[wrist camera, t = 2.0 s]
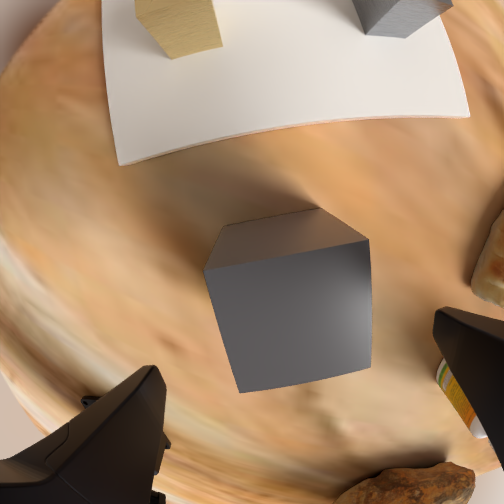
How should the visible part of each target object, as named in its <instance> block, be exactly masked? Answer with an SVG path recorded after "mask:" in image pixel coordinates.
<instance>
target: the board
mask: <svg viewBox="0 0 504 504" xmlns="http://www.w3.org/2000/svg"><path fill="white" fill-rule="evenodd" d="M213 4H214V8H215V12H216V16H217V21H218V25H219V30H220V34H221V39H222V43H223V47H220V48H215V49H210V50H206V51H202V52H198V53H194V54H190V55H186V56H183V57H179V58H176V59H173V60H171V58H170V57H169V56H168V55H167V53H166V52H165V51H164V50H163V49H162V47H161V46H160V45H159V44H158V43H157V41H156V40H155V39H154V38H153V37H152V35H151V34H150V33H149V32H148V31H147V29H146V28H145V27H144V26H143V25H142V24H141V22H140V21H139V20H138V19H137V18H136V14H135V1H134V0H102V38H103V55H104V67H105V78H106V87H107V96H108V104H109V111H110V118H111V124H112V131H113V137H114V142H115V148H116V153H117V158H118V163H119V166H128V165H131V164H134V163H138V162H141V161H144V160H147V159H151V158H154V157H157V156H161V155H164V154H168V153H172V152H175V151H179V150H183V149H187V148H190V147H194V146H198V145H203V144H207V143H211V142H215V141H220V140H224V139H229V138H234V137H239V136H244V135H249V134H254V133H260V132H265V131H271V130H277V129H284V128H290V127H297V126H304V125H312V124H321V123H330V122H340V121H351V120H364V119H382V118H467V117H470V112H469V107H468V103H467V98H466V94H465V90H464V86H463V82H462V79H461V75H460V72H459V68H458V65H457V62H456V58H455V55H454V52H453V49H452V47H451V44H450V41H449V38H448V36H447V33H446V30H445V28H444V25H443V23H442V21H441V18H440V16H437V17H436V18H434V19H433V20H431V21H430V22H428V23H427V24H425V25H424V26H422V27H421V28H419V29H418V30H417V31H415V32H414V33H412V34H411V35H410V36H408V37H407V38H405V39H404V38H396V37H385V36H370V35H365V33H364V31H363V28H362V25H361V22H360V20H359V17H358V14H357V12H356V9H355V7H354V4H353V2H352V0H213Z"/></svg>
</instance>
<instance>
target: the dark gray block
mask: <svg viewBox="0 0 504 504" xmlns="http://www.w3.org/2000/svg"><path fill="white" fill-rule="evenodd" d="M203 273H204V276H205V280H206V284H207V288H208V291H209V295H210V298H211V302H212V305H213V309H214V312H215V316H216V319H217V323H218V326H219V330H220V333H221V336H222V340H223V343H224V346H225V349H226V353H227V356H228V359H229V362H230V365H231V369H232V372H233V375H234V378H235V381H236V384H237V387H238V390H239V393H246V392H254V391H261V390H268V389H274V388H281V387H286V386H292V385H297V384H303V383H308V382H313V381H317V380H322V379H327V378H331V377H335V376H339V375H344V374H348V373H351V372H355V371H359V370H363V369H366V368H370V367H371V347H372V286H371V263H370V247H369V239H368V238H366V237H365V236H363V235H362V234H360V233H359V232H357V231H356V230H354V229H353V228H351V227H350V226H348V225H347V224H345V223H344V222H342V221H341V220H339V219H338V218H336V217H335V216H333V215H332V214H330V213H328V212H327V211H325V210H324V209H322V208H318V209H312V210H306V211H301V212H295V213H290V214H284V215H279V216H274V217H268V218H263V219H258V220H252V221H247V222H242V223H237V224H232V225H227V226H223V228H222V230H221V233H220V235H219V237H218V239H217V241H216V243H215V246H214V248H213V250H212V252H211V254H210V256H209V259H208V261H207V263H206V265H205V268H204V270H203Z"/></svg>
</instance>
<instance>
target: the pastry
mask: <svg viewBox="0 0 504 504" xmlns="http://www.w3.org/2000/svg"><path fill="white" fill-rule="evenodd" d="M471 288H472V292H473V293H474V294H475V295H476V296H478V297H479V298H481V299H483V300H484V301H488V302H492V303H493V304H495V305H497V306H499V307H502V308H503V309H504V209H503V211H502V212H501V213H500V215H499V217H498V218H497V219H496V220H495V221H494V223H493V224H492V226H491V230H490V235H489V236H488V238H487V241H486V244H485V246H484V248H483V251H482V252H481V254H480V257H479V259H478V262H477V265H476V267H475V269H474V273H473V276H472V279H471Z"/></svg>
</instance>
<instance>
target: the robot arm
mask: <svg viewBox="0 0 504 504" xmlns="http://www.w3.org/2000/svg"><path fill="white" fill-rule="evenodd" d="M433 337H434V339H435V341H436V343H437V345H438V347H439V349H440V351H441V353H442V355H443V357H444V359H445V361H446V363H447V365H448V367H449V369H450V371H451V373H452V374H453V376H454V378H455V379H456V381H457V383H458V384H459V386H460V388H461V389H462V391H463V393H464V394H465V396H466V398H467V400H468V401H469V403H470V405H471V407H472V408H473V410H474V412H475V414H476V416H477V417H478V419H479V421H480V423H481V425H482V427H483V429H484V430H485V432H486V434H487V436H488V438H489V440H490V442H491V444H492V446H493V448H494V450H495V453H496V455H497V457H498V459H499V461H500V463H501V466H502V468H503V470H504V321H501V320H497V319H493V318H489V317H486V316H482V315H478V314H474V313H470V312H466V311H462V310H459V309H455V308H451V307H443V308H440V309H438V310H436V312H435V317H434V325H433ZM166 391H167V389H166V384H165V382H164V380H163V378H162V376H161V373H160V371H159V369H158V368H157V366H155V365H146V366H143V367H141V368H140V369H139V370H137V371H136V372H135V373H133V374H132V375H131V376H129V377H128V378H127V379H125V380H124V381H123V382H121V383H120V384H119V385H117V386H116V387H115V388H113V389H112V390H111V391H109V392H108V393H107V394H105V395H104V396H103V397H90V396H83V397H82V399H81V403H82V404H83V406H84V407H85V410H84V411H82V412H81V413H80V414H78V415H77V416H76V417H74V418H73V419H71V420H70V421H69V422H67V423H66V424H64V425H63V426H62V427H60V428H59V429H57V430H56V431H54V432H53V433H51V434H50V435H48V436H47V437H45V438H44V439H42V440H40V441H39V442H37V443H35V444H34V445H32V446H30V447H28V448H27V449H25V450H23V451H21V452H20V453H18V454H16V455H14V456H12V457H10V458H7V459H3V460H0V504H166V496H165V494H163V493H160V492H156V491H153V490H152V484H153V478H154V475H157V474H158V473H159V469H160V465H161V462H162V458H163V454H164V450H165V449H170V447H171V443H170V441H169V440H168V438H167V437H166V435H165V434H164V432H163V424H164V412H165V402H166Z"/></svg>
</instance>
